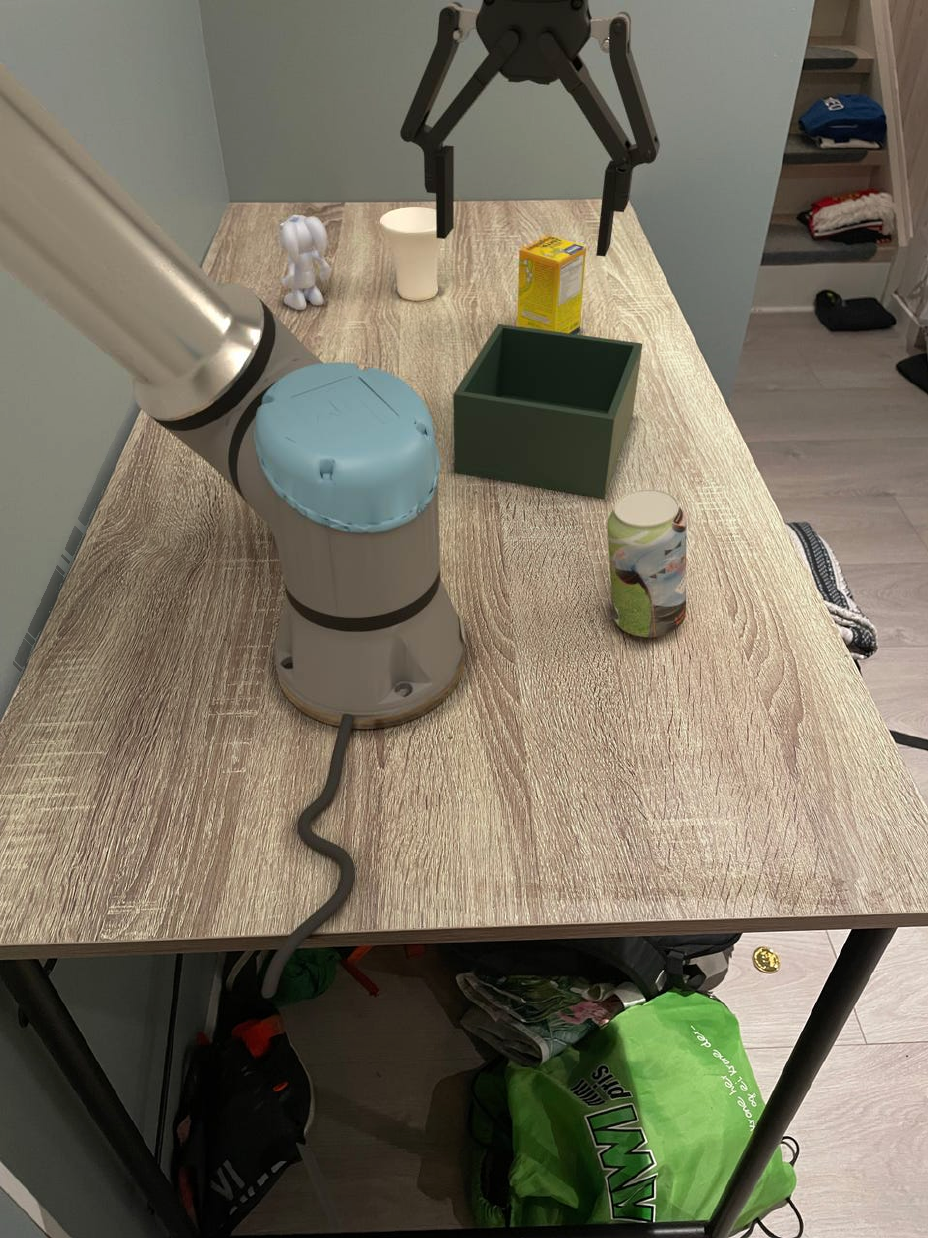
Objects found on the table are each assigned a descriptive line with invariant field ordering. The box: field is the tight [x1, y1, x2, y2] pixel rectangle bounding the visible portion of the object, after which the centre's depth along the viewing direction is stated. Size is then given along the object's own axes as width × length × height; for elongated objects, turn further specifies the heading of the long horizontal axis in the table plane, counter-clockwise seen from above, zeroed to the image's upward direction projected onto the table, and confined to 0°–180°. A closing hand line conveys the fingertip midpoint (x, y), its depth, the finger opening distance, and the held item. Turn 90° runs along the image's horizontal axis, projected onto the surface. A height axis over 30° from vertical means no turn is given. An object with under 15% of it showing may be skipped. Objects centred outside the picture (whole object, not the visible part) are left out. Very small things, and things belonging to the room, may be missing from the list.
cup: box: [379, 206, 443, 302], centre depth 122 cm, size 9×9×10 cm
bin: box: [452, 323, 643, 500], centre depth 94 cm, size 16×16×9 cm
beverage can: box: [606, 488, 688, 638], centre depth 73 cm, size 6×7×12 cm
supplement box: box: [516, 234, 587, 334], centre depth 112 cm, size 6×6×11 cm
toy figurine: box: [278, 214, 332, 311], centre depth 118 cm, size 7×6×12 cm
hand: (522, 241), depth 77 cm, fingers open, 13 cm apart
